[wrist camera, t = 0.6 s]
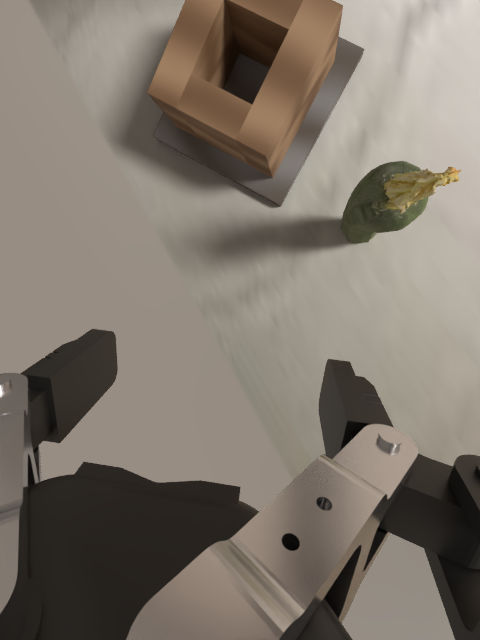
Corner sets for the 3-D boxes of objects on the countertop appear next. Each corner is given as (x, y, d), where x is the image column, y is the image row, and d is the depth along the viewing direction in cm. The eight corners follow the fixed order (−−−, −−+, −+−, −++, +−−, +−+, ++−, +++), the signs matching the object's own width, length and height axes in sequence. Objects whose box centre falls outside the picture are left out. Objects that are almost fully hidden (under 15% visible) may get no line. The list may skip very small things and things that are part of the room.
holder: (222, -13, 34) (199, -97, 26) (362, 55, 33) (381, -12, 25) (157, 139, 37) (119, 105, 30) (280, 206, 36) (274, 189, 28)
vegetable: (327, 236, 36) (358, 197, 16) (345, 197, 35) (400, 104, 15) (366, 252, 35) (447, 230, 16) (385, 212, 34) (495, 137, 15)
